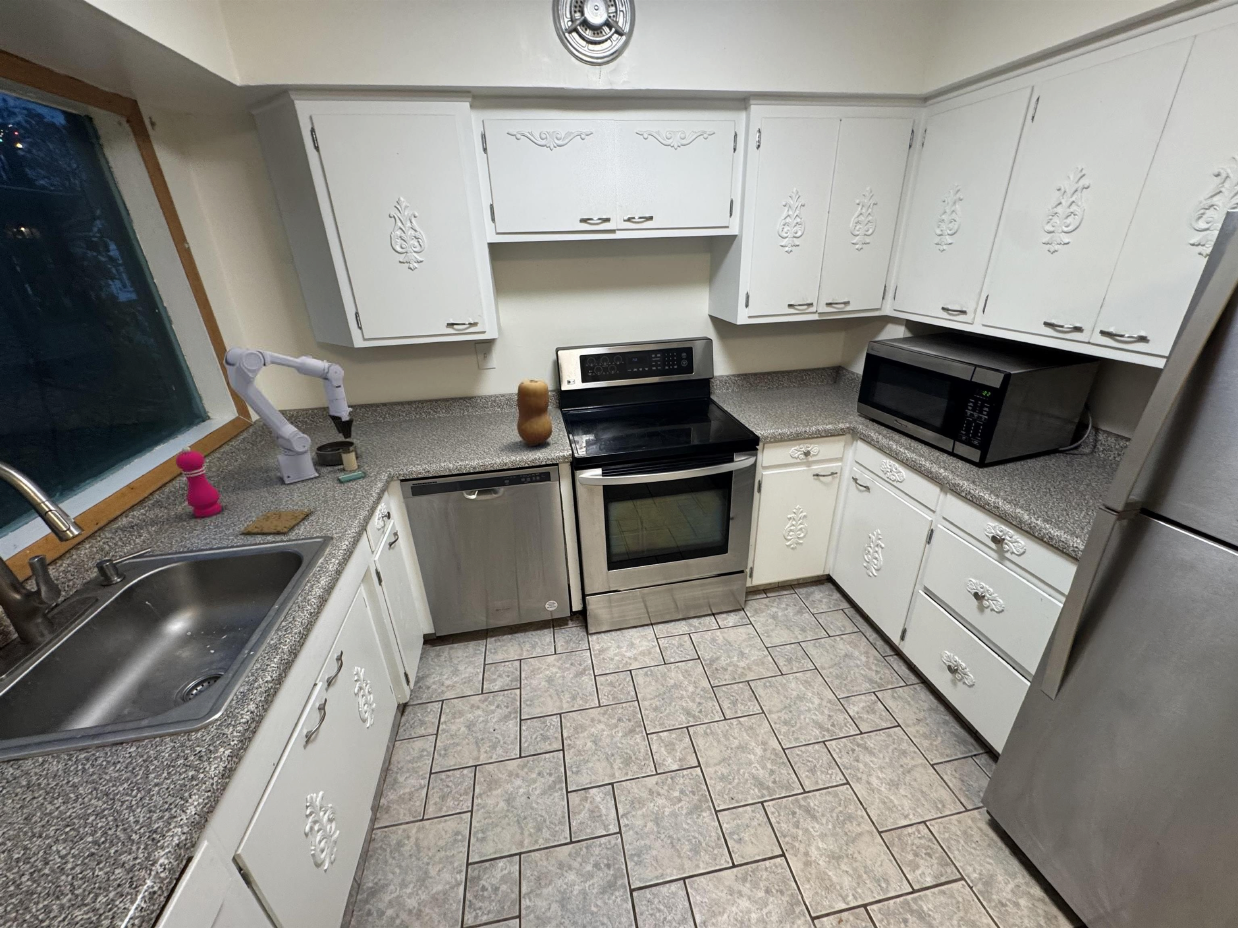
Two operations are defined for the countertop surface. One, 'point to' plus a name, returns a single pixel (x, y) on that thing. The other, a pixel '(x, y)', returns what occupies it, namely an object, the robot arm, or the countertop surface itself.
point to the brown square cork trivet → (275, 522)
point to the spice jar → (349, 458)
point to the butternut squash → (533, 412)
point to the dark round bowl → (333, 452)
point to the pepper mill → (198, 484)
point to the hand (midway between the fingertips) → (344, 435)
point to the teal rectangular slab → (351, 476)
